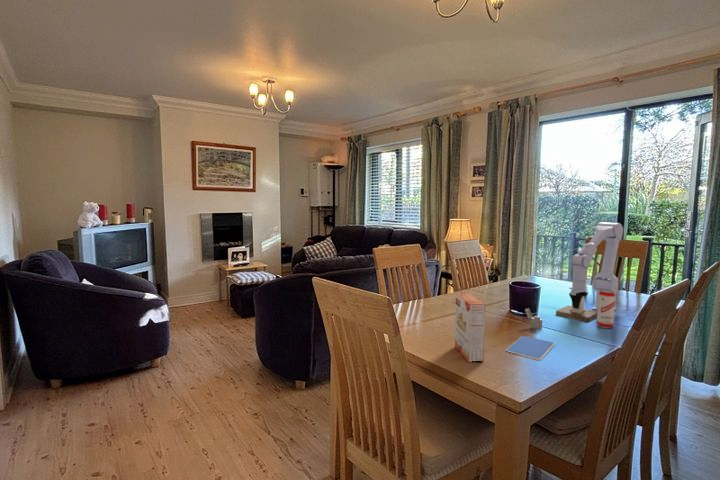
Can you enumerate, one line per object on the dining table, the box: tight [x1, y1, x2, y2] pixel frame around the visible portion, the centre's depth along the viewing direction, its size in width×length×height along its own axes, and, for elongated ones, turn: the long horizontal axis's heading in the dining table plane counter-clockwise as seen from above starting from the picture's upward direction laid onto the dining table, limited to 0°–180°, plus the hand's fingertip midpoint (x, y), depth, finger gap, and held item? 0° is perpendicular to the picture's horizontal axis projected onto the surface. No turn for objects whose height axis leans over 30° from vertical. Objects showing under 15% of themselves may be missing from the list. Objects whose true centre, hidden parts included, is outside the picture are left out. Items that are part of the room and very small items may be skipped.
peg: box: [571, 296, 585, 313], centre depth 180 cm, size 4×4×8 cm
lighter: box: [524, 307, 543, 331], centre depth 164 cm, size 7×2×8 cm, turn 42°
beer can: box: [596, 290, 616, 329], centre depth 164 cm, size 6×6×16 cm
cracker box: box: [454, 293, 486, 363], centre depth 135 cm, size 14×6×21 cm, turn 5°
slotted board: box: [555, 305, 597, 323], centre depth 181 cm, size 14×14×2 cm
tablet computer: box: [505, 335, 556, 361], centre depth 142 cm, size 19×13×1 cm, turn 139°
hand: (577, 307), depth 180 cm, fingers closed on peg, 4 cm apart
